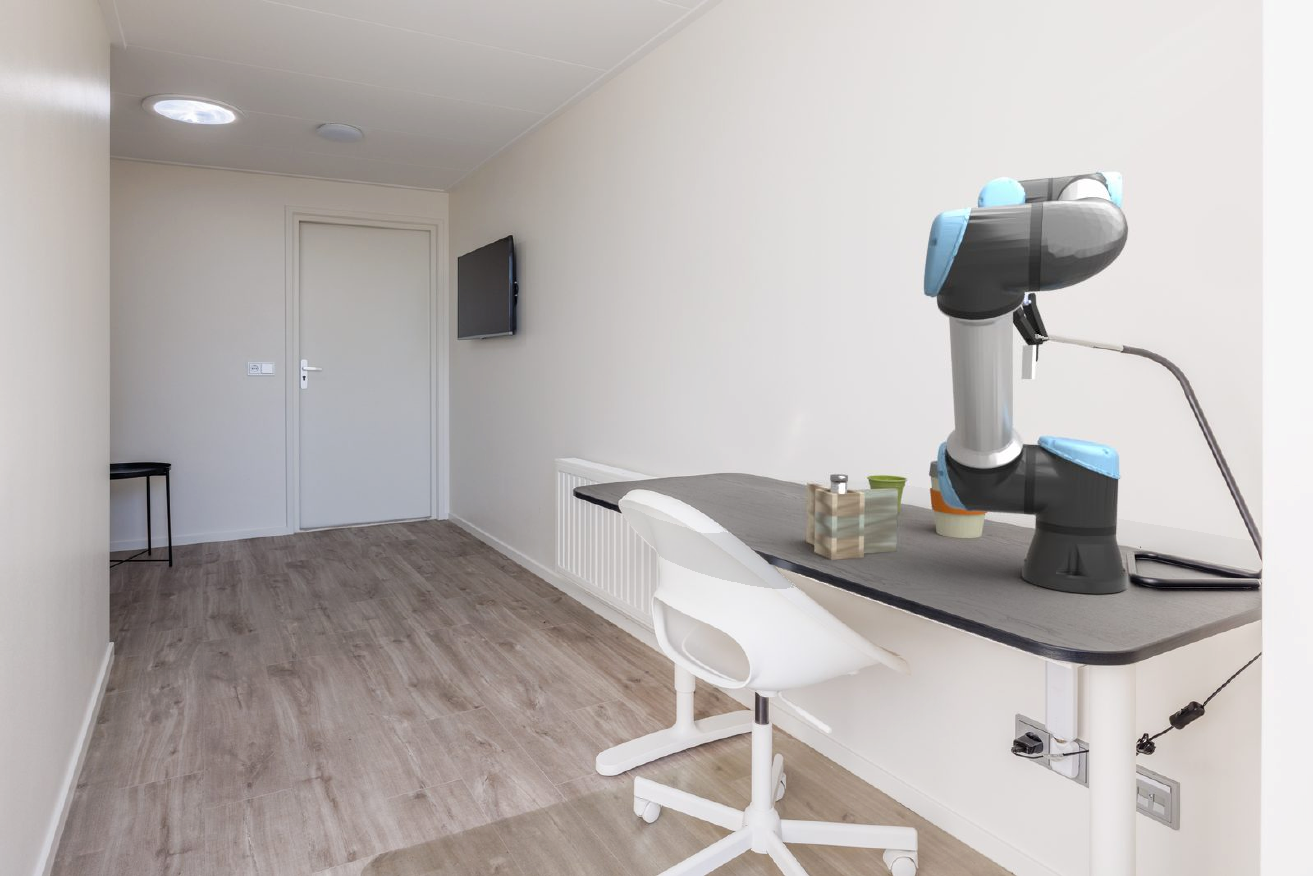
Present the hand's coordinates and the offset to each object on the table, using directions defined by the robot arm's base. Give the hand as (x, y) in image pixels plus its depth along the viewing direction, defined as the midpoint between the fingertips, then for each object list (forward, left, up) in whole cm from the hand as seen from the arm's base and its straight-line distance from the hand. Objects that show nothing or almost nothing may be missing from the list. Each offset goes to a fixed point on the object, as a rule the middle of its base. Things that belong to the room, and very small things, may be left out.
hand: (998, 379), depth 151 cm
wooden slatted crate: (+7, +28, -33) cm, 43 cm away
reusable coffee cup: (+13, -2, -33) cm, 35 cm away
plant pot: (+39, -1, -33) cm, 51 cm away
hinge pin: (+3, +32, -33) cm, 46 cm away
